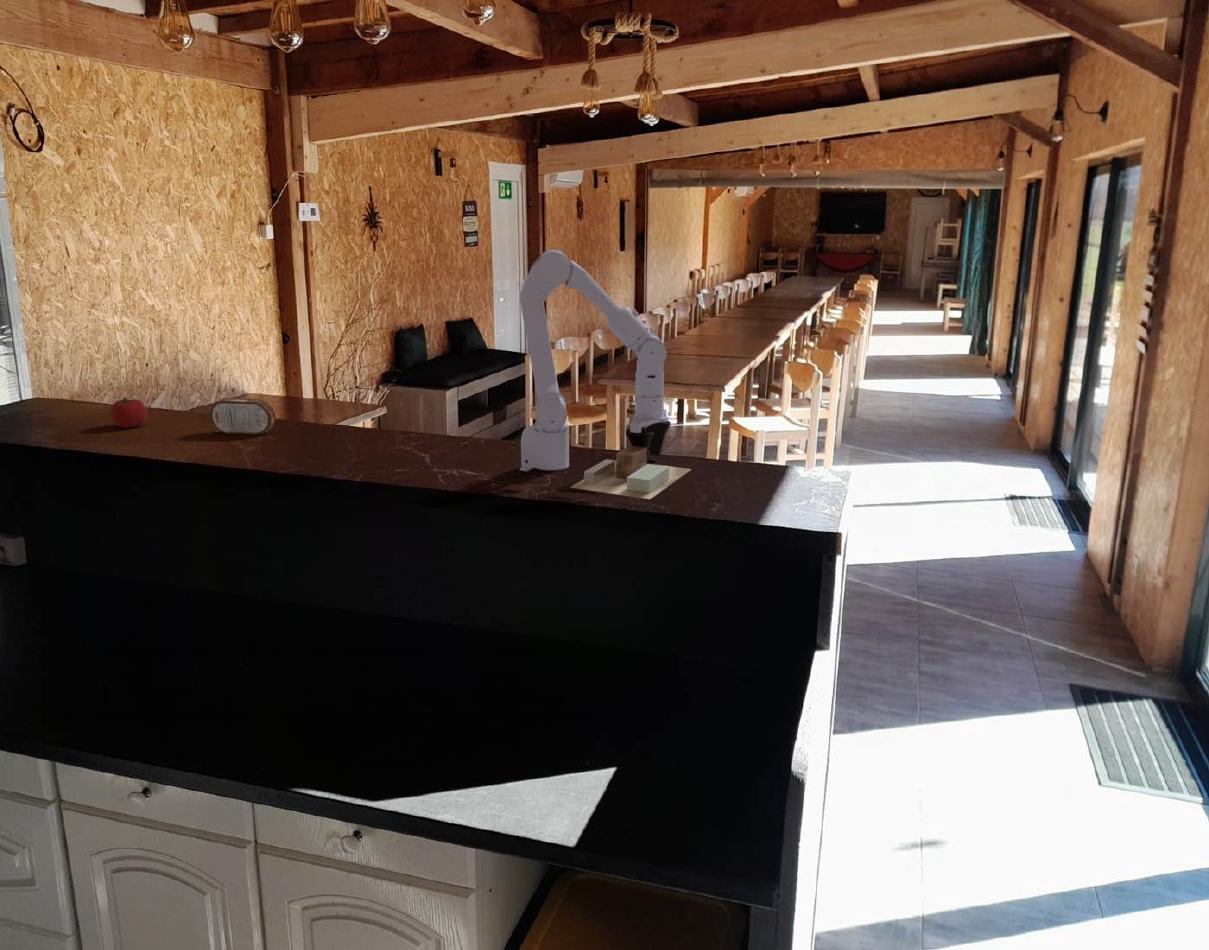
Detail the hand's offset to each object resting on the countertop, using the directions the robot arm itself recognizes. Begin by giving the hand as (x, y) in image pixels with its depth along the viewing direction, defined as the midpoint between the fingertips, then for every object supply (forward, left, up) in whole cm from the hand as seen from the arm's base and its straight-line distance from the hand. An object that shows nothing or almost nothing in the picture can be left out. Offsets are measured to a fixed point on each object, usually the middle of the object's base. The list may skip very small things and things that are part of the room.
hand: (648, 459), depth 195 cm
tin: (-97, -15, -2) cm, 99 cm away
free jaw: (+6, -14, -1) cm, 15 cm away
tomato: (-127, -22, -2) cm, 129 cm away
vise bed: (+1, -11, -2) cm, 11 cm away
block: (0, -9, -1) cm, 9 cm away
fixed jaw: (-4, -14, -2) cm, 15 cm away
